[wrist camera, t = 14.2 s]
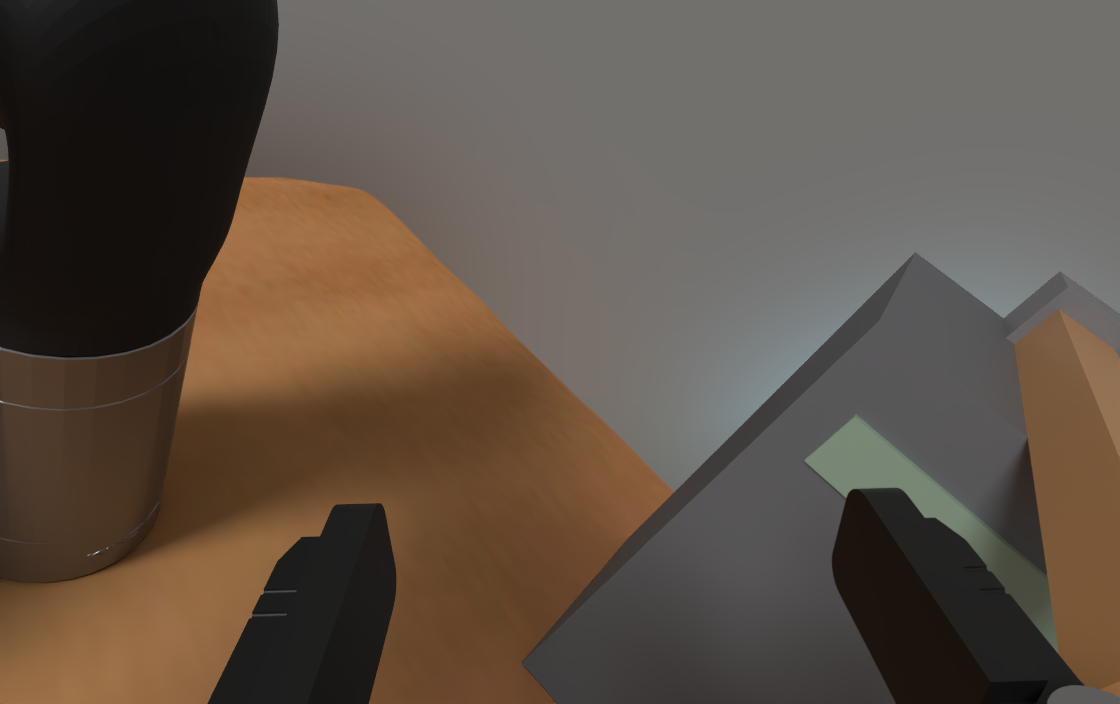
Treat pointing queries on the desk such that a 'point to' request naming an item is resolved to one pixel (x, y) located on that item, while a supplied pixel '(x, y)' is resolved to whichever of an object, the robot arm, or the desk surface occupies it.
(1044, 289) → the lever bar
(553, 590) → the desk surface
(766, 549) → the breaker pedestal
